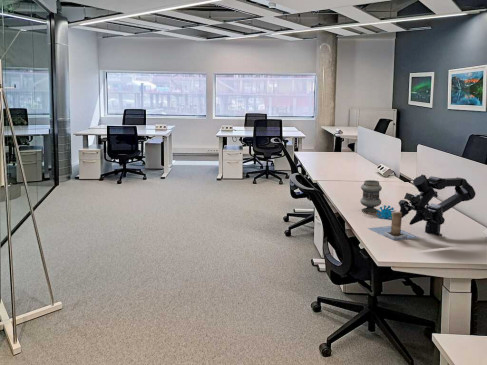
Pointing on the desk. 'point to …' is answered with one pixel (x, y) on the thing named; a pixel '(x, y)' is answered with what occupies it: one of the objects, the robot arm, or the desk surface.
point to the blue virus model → (385, 212)
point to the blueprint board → (388, 229)
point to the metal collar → (402, 236)
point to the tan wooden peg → (396, 223)
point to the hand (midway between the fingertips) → (403, 221)
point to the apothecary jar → (370, 195)
